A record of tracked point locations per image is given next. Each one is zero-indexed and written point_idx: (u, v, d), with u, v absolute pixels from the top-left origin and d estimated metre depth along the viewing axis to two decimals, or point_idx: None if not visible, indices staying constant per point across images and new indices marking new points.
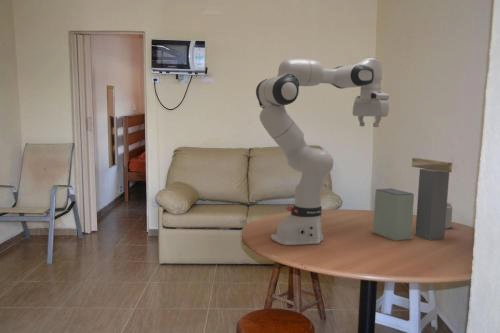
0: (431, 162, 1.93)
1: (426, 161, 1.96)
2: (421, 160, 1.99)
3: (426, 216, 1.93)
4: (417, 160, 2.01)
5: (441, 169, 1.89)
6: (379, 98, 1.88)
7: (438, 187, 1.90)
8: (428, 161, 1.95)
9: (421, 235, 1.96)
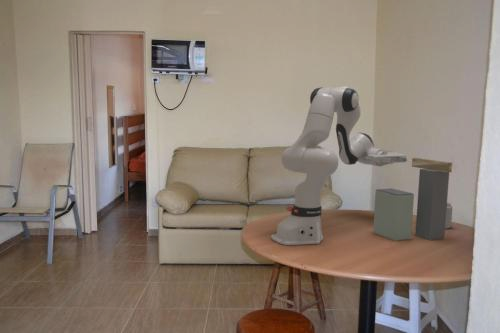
0: (431, 162, 1.93)
1: (426, 161, 1.96)
2: (421, 160, 1.99)
3: (426, 216, 1.93)
4: (417, 160, 2.01)
5: (441, 169, 1.89)
6: None
7: (438, 187, 1.90)
8: (428, 161, 1.95)
9: (421, 235, 1.96)
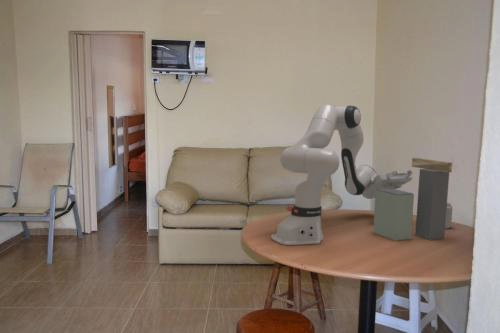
0: (431, 162, 1.93)
1: (426, 161, 1.96)
2: (421, 160, 1.99)
3: (426, 216, 1.93)
4: (417, 160, 2.01)
5: (441, 169, 1.89)
6: None
7: (438, 187, 1.90)
8: (428, 161, 1.95)
9: (421, 235, 1.96)
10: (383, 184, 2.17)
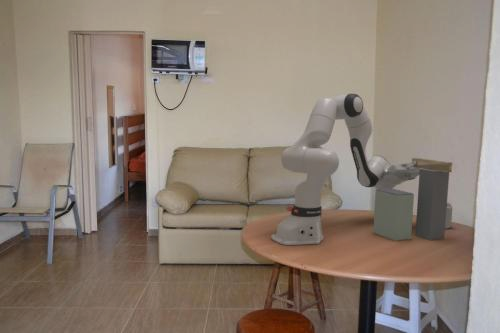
0: (431, 162, 1.93)
1: (426, 161, 1.96)
2: (421, 160, 1.99)
3: (426, 216, 1.93)
4: (417, 160, 2.01)
5: (441, 169, 1.89)
6: None
7: (438, 187, 1.90)
8: (428, 161, 1.95)
9: (421, 235, 1.96)
10: (397, 175, 2.08)
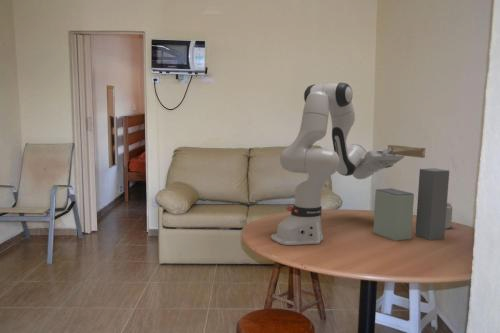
0: (405, 148, 1.96)
1: (400, 147, 1.98)
2: (396, 146, 2.01)
3: (426, 216, 1.93)
4: (392, 147, 2.03)
5: (414, 155, 1.91)
6: None
7: (438, 187, 1.90)
8: (402, 147, 1.97)
9: (421, 235, 1.96)
10: (374, 162, 2.10)
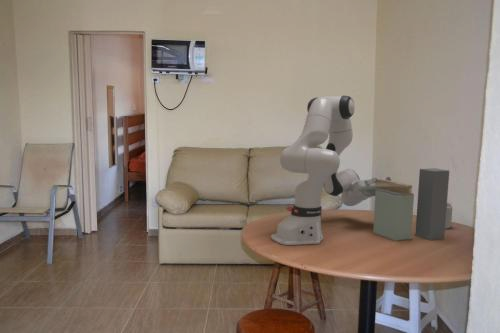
0: (392, 184, 1.94)
1: (388, 183, 1.97)
2: (383, 181, 2.00)
3: (426, 216, 1.93)
4: (380, 181, 2.01)
5: (401, 192, 1.89)
6: None
7: (438, 187, 1.90)
8: (390, 183, 1.96)
9: (421, 235, 1.96)
10: (362, 191, 2.09)
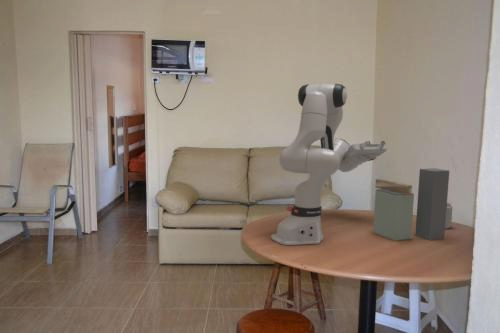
0: (392, 184, 1.94)
1: (388, 183, 1.97)
2: (383, 181, 2.00)
3: (426, 216, 1.93)
4: (380, 181, 2.01)
5: (401, 192, 1.89)
6: None
7: (438, 187, 1.90)
8: (390, 183, 1.96)
9: (421, 235, 1.96)
10: (357, 155, 2.17)
